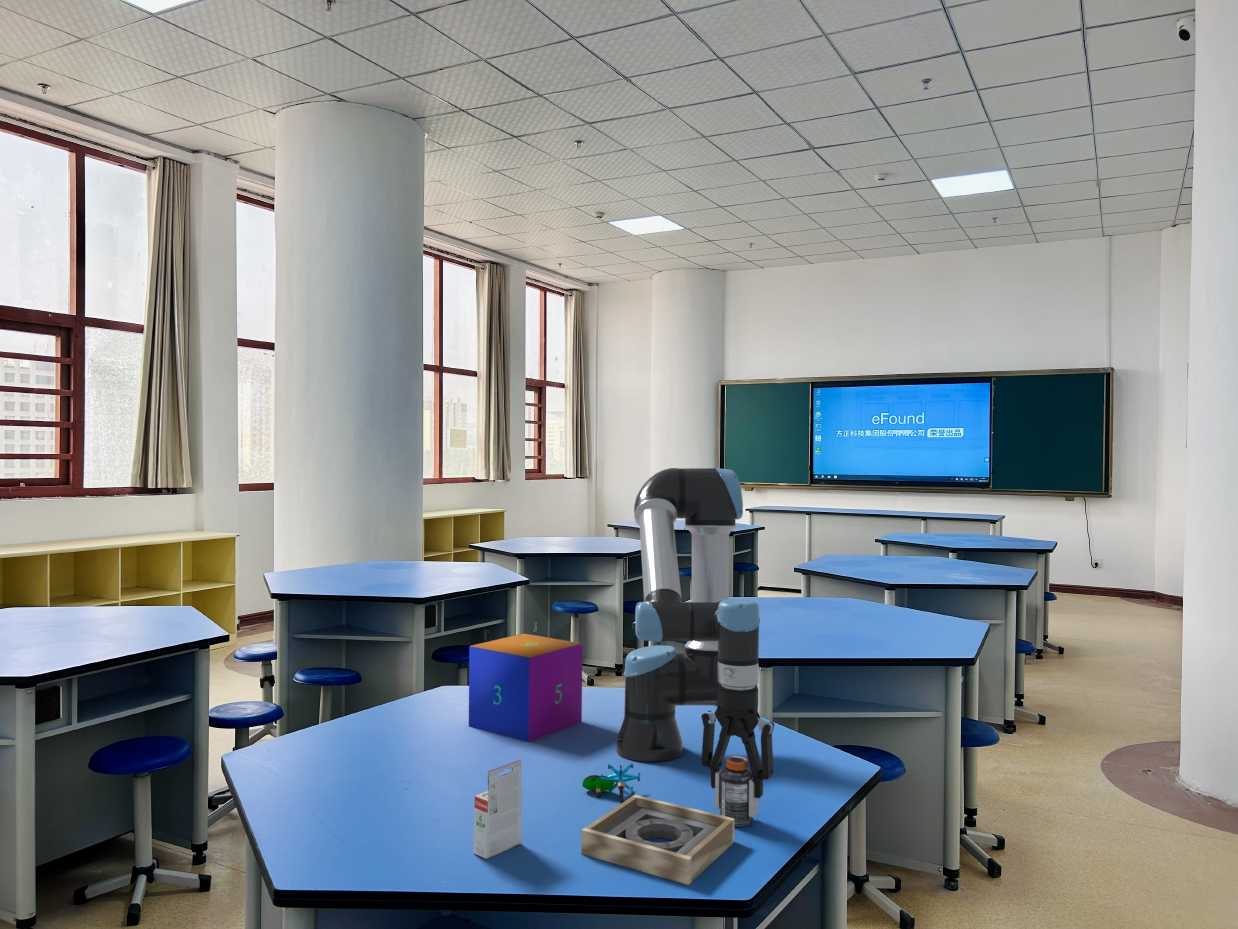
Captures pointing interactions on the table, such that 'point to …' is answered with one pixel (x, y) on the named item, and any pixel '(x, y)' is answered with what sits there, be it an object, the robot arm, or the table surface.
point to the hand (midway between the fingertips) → (736, 810)
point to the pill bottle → (735, 790)
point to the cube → (525, 686)
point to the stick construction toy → (610, 781)
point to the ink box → (499, 812)
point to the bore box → (648, 818)
